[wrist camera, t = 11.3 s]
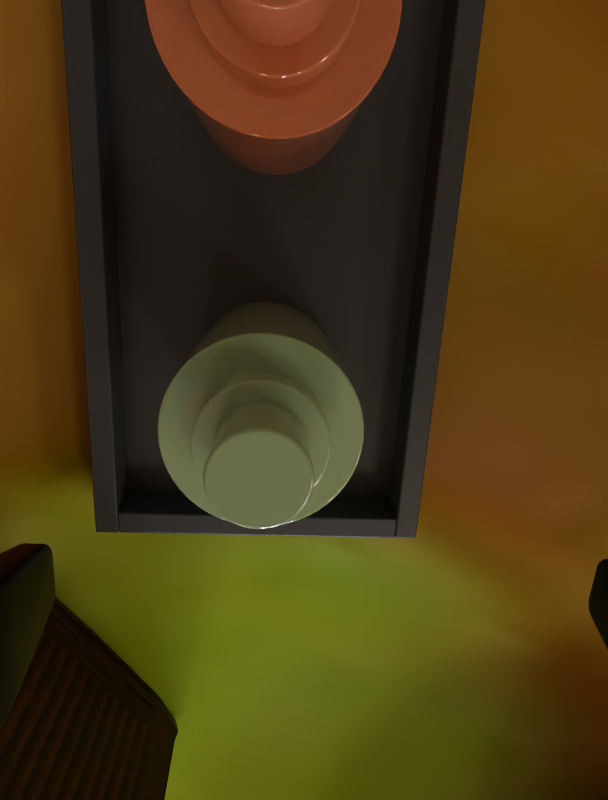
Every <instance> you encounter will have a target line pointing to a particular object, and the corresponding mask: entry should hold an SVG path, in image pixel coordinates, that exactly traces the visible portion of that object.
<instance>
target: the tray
mask: <svg viewBox="0 0 608 800" xmlns="http://www.w3.org/2000/svg"><path fill="white" fill-rule="evenodd" d="M485 1H486V0H402V12H401V19H400V26H399V30H398V34H397V38H396V42H395V45H394V48H393V51H392V53H391V56H390V58H389V61H388V63H387V65H386V67H385V69H384V71H383V73H382V75H381V76H380V78H379V80H378V82H377V83H376V85H375V86H374V88H373V89H372V91H371V92H370V94H369V95H368V97H367V98H366V100H365V102H364V103H363V105H362V106H361V108H360V109H359V111H358V112H357V114H356V115H355V117H354V119H353V120H352V122H351V123H350V125H349V126H348V128H347V129H346V131H345V132H344V134H343V135H342V137H341V138H340V140H339V141H338V143H337V144H336V146H335V147H334V148H333V149H332V150H331V151H330V152H329V153H328V154H327V155H326V156H325V157H324V158H323V159H321V160H320V161H319V162H317V163H316V164H314V165H312V166H311V167H309V168H306V169H304V170H302V171H299V172H296V173H292V174H286V175H268V174H261V173H257V172H254V171H251V170H249V169H246V168H244V167H242V166H240V165H238V164H237V163H235V162H233V161H232V160H231V159H230V158H228V157H227V156H226V155H225V154H224V153H223V152H222V151H221V150H220V149H219V148H218V147H217V146H216V145H215V144H214V142H213V141H212V140H211V138H210V137H209V135H208V134H207V132H206V131H205V129H204V127H203V126H202V124H201V123H200V121H199V120H198V118H197V116H196V115H195V113H194V112H193V110H192V109H191V107H190V105H189V104H188V102H187V101H186V99H185V97H184V96H183V94H182V93H181V91H180V90H179V88H178V86H177V85H176V83H175V82H174V80H173V79H172V77H171V75H170V74H169V72H168V70H167V68H166V67H165V65H164V63H163V61H162V59H161V57H160V55H159V52H158V50H157V48H156V46H155V43H154V40H153V37H152V34H151V30H150V27H149V23H148V18H147V13H146V8H145V0H61V6H62V21H63V36H64V51H65V67H66V82H67V97H68V112H69V128H70V143H71V158H72V173H73V189H74V204H75V219H76V234H77V250H78V265H79V280H80V295H81V311H82V326H83V341H84V356H85V372H86V387H87V402H88V417H89V433H90V448H91V463H92V478H93V494H94V509H95V524H96V532H137V533H186V534H235V535H285V536H334V537H384V538H393V537H394V536H395V537H397V538H415V536H416V530H417V522H418V514H419V507H420V499H421V491H422V484H423V476H424V468H425V461H426V453H427V445H428V438H429V430H430V422H431V415H432V407H433V399H434V392H435V384H436V376H437V369H438V361H439V353H440V346H441V338H442V330H443V323H444V315H445V307H446V300H447V292H448V284H449V277H450V269H451V261H452V254H453V246H454V239H455V231H456V223H457V216H458V208H459V200H460V193H461V185H462V177H463V170H464V162H465V154H466V147H467V139H468V131H469V124H470V116H471V108H472V101H473V93H474V85H475V78H476V70H477V62H478V55H479V47H480V39H481V32H482V24H483V16H484V9H485ZM255 302H275V303H281V304H285V305H288V306H291V307H293V308H296V309H298V310H299V311H301V312H303V313H305V314H306V315H307V316H309V317H310V318H311V319H312V320H313V321H315V322H316V323H317V324H318V325H319V327H320V328H321V329H322V331H323V332H324V333H325V335H326V337H327V338H328V340H329V342H330V344H331V346H332V348H333V349H334V351H335V353H336V355H337V357H338V359H339V361H340V363H341V364H342V366H343V368H344V370H345V372H346V374H347V376H348V378H349V379H350V381H351V383H352V385H353V387H354V389H355V391H356V394H357V396H358V398H359V401H360V405H361V409H362V412H363V420H364V440H363V446H362V452H361V455H360V458H359V461H358V464H357V466H356V468H355V470H354V473H353V475H352V476H351V478H350V479H349V481H348V482H347V484H346V485H345V486H344V488H343V489H342V490H341V491H340V492H339V494H338V495H337V496H336V497H335V498H333V499H332V500H331V501H330V502H329V503H328V504H326V505H325V506H324V507H322V508H321V509H320V510H318V511H316V512H314V513H313V514H311V515H309V516H307V517H304V518H302V519H300V520H297V521H294V522H290V523H287V524H282V525H279V526H276V527H272V528H267V529H250V528H245V527H241V526H238V525H236V524H234V523H231V522H229V521H226V520H222V519H220V518H218V517H216V516H214V515H211V514H209V513H208V512H206V511H204V510H203V509H201V508H200V507H198V506H197V505H196V504H195V503H193V502H192V501H191V500H190V499H188V497H187V496H186V495H185V494H184V493H183V492H182V491H181V490H180V489H179V488H178V486H177V485H176V484H175V482H174V481H173V479H172V478H171V476H170V474H169V472H168V470H167V469H166V466H165V464H164V461H163V459H162V456H161V452H160V447H159V442H158V432H157V431H158V416H159V411H160V406H161V403H162V400H163V397H164V394H165V392H166V390H167V388H168V386H169V384H170V382H171V381H172V379H173V378H174V376H175V375H176V373H177V372H178V371H179V369H180V368H181V367H182V365H183V364H184V362H185V361H186V360H187V358H188V357H189V356H190V354H191V353H192V352H193V350H194V349H195V348H196V346H197V345H198V343H199V342H200V341H201V339H202V338H203V337H204V335H205V334H206V333H207V331H208V330H209V328H210V327H211V326H212V325H213V324H214V323H215V322H216V321H217V320H218V319H219V318H220V317H222V316H223V315H224V314H226V313H227V312H229V311H231V310H232V309H235V308H237V307H239V306H242V305H245V304H249V303H255Z"/></svg>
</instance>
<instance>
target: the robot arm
mask: <svg viewBox="0 0 608 800" xmlns="http://www.w3.org/2000/svg"><path fill="white" fill-rule="evenodd" d="M54 597H55V581H54V569H53V558H52V551H51V549H50V547H49V546H48V545H46V544H26V543H24V544H20V545H18V546H15V547H13V548H11V549H9V550H7V551H5V552H3V553H1V554H0V729H1V727H2V725H3V723H4V721H5V719H6V717H7V715H8V713H9V711H10V709H11V707H12V705H13V703H14V701H15V699H16V697H17V694H18V692H19V690H20V687H21V685H22V682H23V680H24V677H25V675H26V672H27V670H28V667H29V665H30V662H31V659H32V657H33V654H34V652H35V649H36V647H37V644H38V641H39V639H40V636H41V634H42V631H43V629H44V626H45V624H46V621H47V618H48V616H49V613H50V611H51V608H52V605H53V602H54ZM589 611H590V614H591V617H592V619H593V621H594V623H595V625H596V627H597V629H598V631H599V633H600V635H601V637H602V639H603V641H604V643H605V645H606V647H607V649H608V559H604V560H602V561H600V563H599V564H598V566H597V569H596V573H595V577H594V581H593V585H592V589H591V593H590V597H589Z"/></svg>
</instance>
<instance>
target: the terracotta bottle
mask: <svg viewBox="0 0 608 800" xmlns="http://www.w3.org/2000/svg"><path fill="white" fill-rule="evenodd" d="M145 8H146V13H147V18H148V23H149V27H150V30H151V34H152V37H153V40H154V43H155V46H156V48H157V50H158V52H159V55H160V57H161V59H162V61H163V63H164V65H165V67H166V68H167V70H168V72H169V74H170V75H171V77H172V79H173V80H174V82H175V83H176V85H177V86H178V88H179V90H180V91H181V93H182V94H183V96H184V97H185V99H186V101H187V102H188V104H189V105H190V107H191V109H192V110H193V112H194V113H195V115H196V116H197V118H198V120H199V121H200V123H201V124H202V126H203V127H204V129H205V131H206V132H207V134H208V135H209V137H210V138H211V140H212V141H213V142H214V144H215V145H216V146H217V147H218V148H219V149H220V150H221V151H222V152H223V153H224V154H225V155H226V156H227V157H228V158H230V159H231V160H232V161H233V162H235V163H237V164H238V165H240V166H242V167H244V168H246V169H249V170H251V171H254V172H257V173H261V174H268V175H286V174H292V173H296V172H299V171H302V170H304V169H306V168H309V167H311V166H312V165H314V164H316V163H317V162H319V161H320V160H321V159H323V158H324V157H325V156H326V155H327V154H328V153H329V152H330V151H331V150H332V149H333V148H334V147H335V146H336V144H337V143H338V141H339V140H340V138H341V137H342V135H343V134H344V132H345V131H346V129H347V128H348V126H349V125H350V123H351V122H352V120H353V119H354V117H355V115H356V114H357V112H358V111H359V109H360V108H361V106H362V105H363V103H364V102H365V100H366V98H367V97H368V95H369V94H370V92H371V91H372V89H373V88H374V86H375V85H376V83H377V82H378V80H379V78H380V76H381V75H382V73H383V71H384V69H385V67H386V65H387V63H388V61H389V58H390V56H391V53H392V51H393V48H394V45H395V42H396V38H397V34H398V30H399V26H400V19H401V12H402V0H145Z"/></svg>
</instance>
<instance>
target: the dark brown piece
mask: <svg viewBox="0 0 608 800" xmlns="http://www.w3.org/2000/svg"><path fill="white" fill-rule="evenodd" d="M177 733H178V728H177V723H176V721H175V720H174V718H173V717H172V715H171V714H170V713H169V711H168V710H167V708H166V707H165V705H164V704H163V702H162V701H161V699H160V698H159V697H158V696H157V695H156V694H155V693H154V692H153V691H152V690H151V689H150V688H149V687H148V686H147V685H146V684H145V683H144V682H143V681H142V680H141V679H140V678H139V677H138V676H137V675H136V674H135V673H134V672H133V671H132V670H131V669H130V668H129V667H128V666H127V665H126V664H125V663H124V662H123V661H122V660H121V659H120V658H119V657H118V656H117V655H116V654H115V653H114V652H113V651H112V650H111V649H110V648H109V647H108V646H107V645H106V644H105V643H104V642H103V641H102V640H101V639H100V638H99V637H98V636H97V635H96V634H95V633H94V632H93V631H91V630H90V629H89V628H88V627H87V626H86V625H85V624H84V623H82V622H81V621H80V620H79V619H78V618H77V617H76V616H75V615H73V614H72V613H71V612H70V611H69V610H68V609H67V608H66V607H65V606H63V605H62V604H61V603H60V602H59V601H58V600H57V599H56V598H54V602H53V605H52V608H51V611H50V613H49V616H48V618H47V621H46V624H45V626H44V629H43V631H42V634H41V636H40V639H39V641H38V644H37V647H36V649H35V652H34V654H33V657H32V659H31V662H30V665H29V667H28V670H27V672H26V675H25V677H24V680H23V682H22V685H21V687H20V690H19V692H18V694H17V697H16V699H15V701H14V703H13V705H12V707H11V709H10V711H9V713H8V715H7V717H6V719H5V721H4V723H3V725H2V727H1V729H0V800H164V798H165V792H166V787H167V781H168V775H169V770H170V764H171V758H172V753H173V747H174V741H175V738H176V735H177Z"/></svg>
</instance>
